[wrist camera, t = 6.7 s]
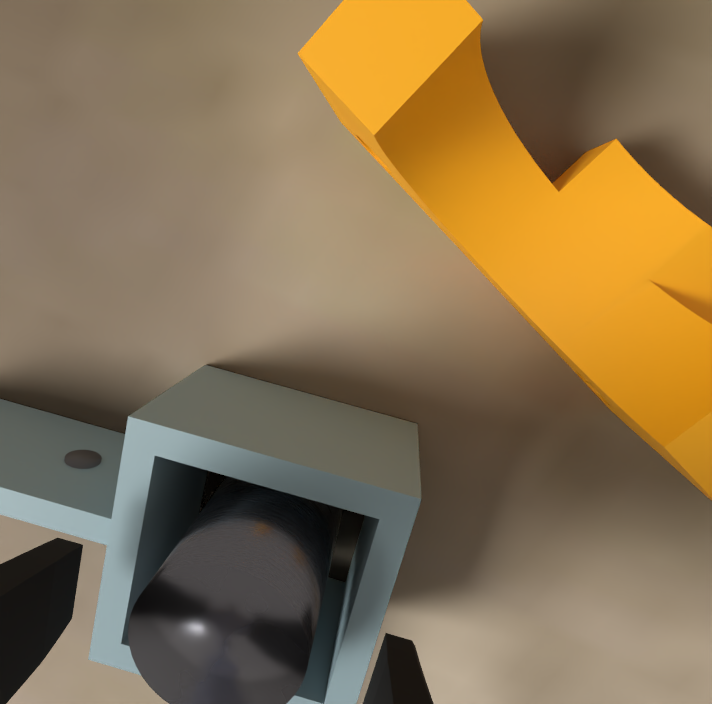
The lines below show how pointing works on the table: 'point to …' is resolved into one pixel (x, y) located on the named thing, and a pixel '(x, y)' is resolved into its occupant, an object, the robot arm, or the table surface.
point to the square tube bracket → (186, 486)
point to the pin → (237, 599)
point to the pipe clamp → (536, 217)
